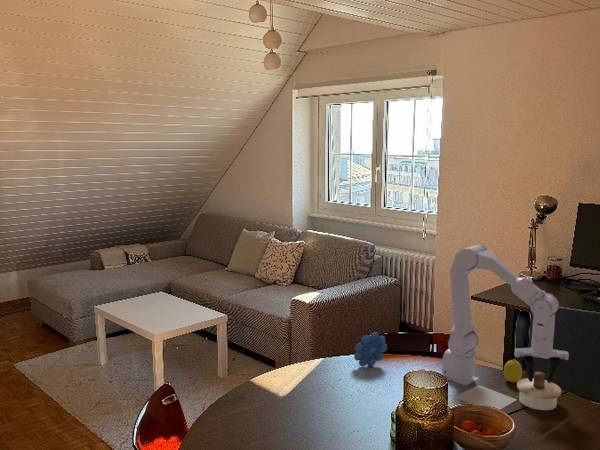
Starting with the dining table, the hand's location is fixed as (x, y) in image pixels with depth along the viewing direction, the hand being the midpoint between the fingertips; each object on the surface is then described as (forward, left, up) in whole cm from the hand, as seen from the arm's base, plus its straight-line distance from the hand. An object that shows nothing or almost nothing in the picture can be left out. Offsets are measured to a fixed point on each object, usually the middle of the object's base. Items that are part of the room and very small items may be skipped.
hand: (539, 380), depth 167 cm
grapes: (-51, -18, -7) cm, 54 cm away
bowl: (0, 0, -7) cm, 7 cm away
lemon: (-12, +7, -7) cm, 16 cm away
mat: (-11, -10, -7) cm, 17 cm away
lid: (0, 0, -3) cm, 3 cm away
